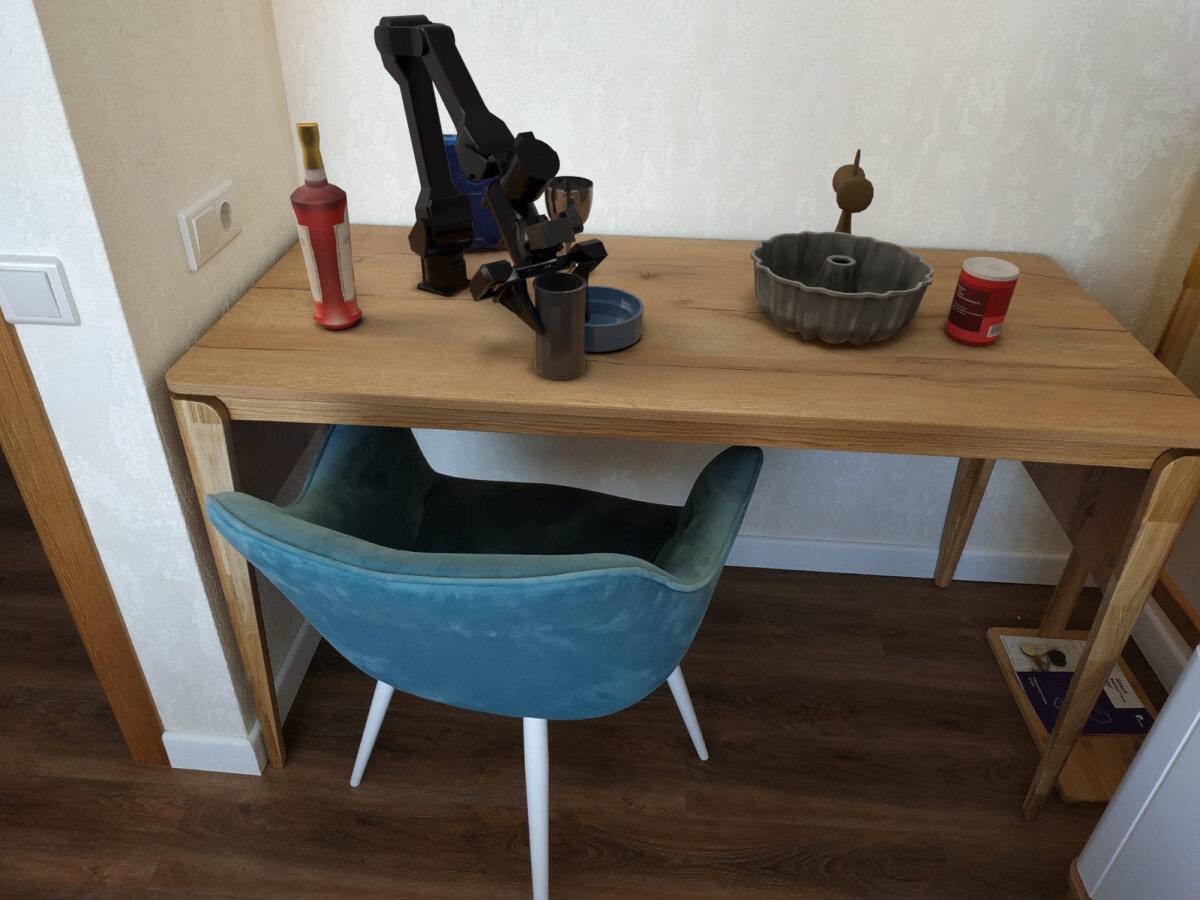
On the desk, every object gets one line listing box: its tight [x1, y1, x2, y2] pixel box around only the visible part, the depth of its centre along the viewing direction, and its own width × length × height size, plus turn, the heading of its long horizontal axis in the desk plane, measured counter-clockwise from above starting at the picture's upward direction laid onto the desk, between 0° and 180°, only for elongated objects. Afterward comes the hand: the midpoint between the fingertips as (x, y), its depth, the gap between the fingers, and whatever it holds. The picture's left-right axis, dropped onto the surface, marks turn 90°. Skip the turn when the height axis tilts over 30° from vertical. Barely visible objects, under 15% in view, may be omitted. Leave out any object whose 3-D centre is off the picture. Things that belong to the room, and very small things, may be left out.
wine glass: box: [543, 175, 594, 272], centre depth 137 cm, size 8×8×15 cm
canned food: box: [945, 256, 1021, 347], centre depth 122 cm, size 8×8×11 cm
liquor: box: [289, 121, 363, 331], centre depth 115 cm, size 7×7×28 cm
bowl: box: [585, 285, 645, 353], centre depth 121 cm, size 14×14×4 cm
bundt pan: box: [750, 230, 935, 346], centre depth 125 cm, size 26×26×10 cm
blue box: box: [443, 133, 502, 253], centre depth 143 cm, size 14×5×20 cm, turn 102°
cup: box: [531, 272, 586, 382], centre depth 109 cm, size 7×7×12 cm
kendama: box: [831, 148, 875, 234], centre depth 142 cm, size 6×10×20 cm, turn 173°
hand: (565, 328), depth 108 cm, fingers closed on cup, 7 cm apart
